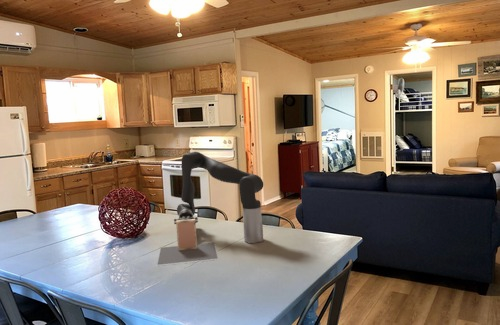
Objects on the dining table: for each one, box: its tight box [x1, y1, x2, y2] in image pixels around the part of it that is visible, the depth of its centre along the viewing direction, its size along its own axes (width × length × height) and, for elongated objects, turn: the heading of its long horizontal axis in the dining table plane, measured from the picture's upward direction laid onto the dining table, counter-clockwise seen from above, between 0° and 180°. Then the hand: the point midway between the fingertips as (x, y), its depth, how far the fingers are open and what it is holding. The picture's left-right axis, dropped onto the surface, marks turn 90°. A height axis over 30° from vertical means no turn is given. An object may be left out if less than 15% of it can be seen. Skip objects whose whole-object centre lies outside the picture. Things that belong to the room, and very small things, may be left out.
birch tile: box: [175, 219, 198, 250], centre depth 191 cm, size 9×2×14 cm, turn 99°
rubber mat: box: [156, 242, 218, 267], centre depth 186 cm, size 26×24×1 cm
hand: (186, 224), depth 201 cm, fingers closed
